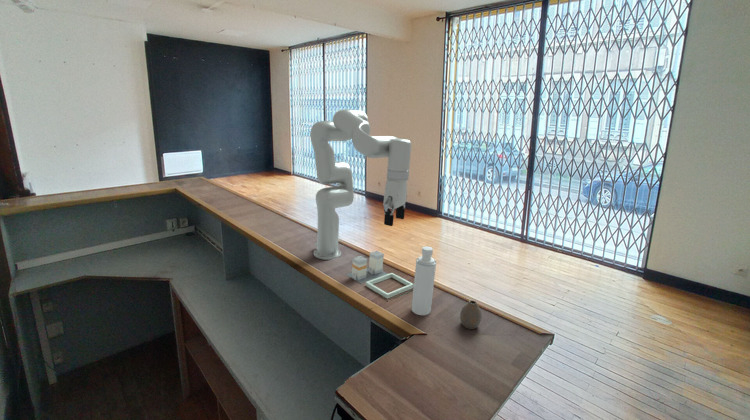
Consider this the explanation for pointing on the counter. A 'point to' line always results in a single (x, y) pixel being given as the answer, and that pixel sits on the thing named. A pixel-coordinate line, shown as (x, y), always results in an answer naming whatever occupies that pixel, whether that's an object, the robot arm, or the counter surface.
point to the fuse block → (367, 275)
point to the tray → (393, 293)
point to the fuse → (376, 262)
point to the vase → (471, 315)
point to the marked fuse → (359, 267)
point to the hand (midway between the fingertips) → (394, 221)
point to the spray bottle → (424, 282)
